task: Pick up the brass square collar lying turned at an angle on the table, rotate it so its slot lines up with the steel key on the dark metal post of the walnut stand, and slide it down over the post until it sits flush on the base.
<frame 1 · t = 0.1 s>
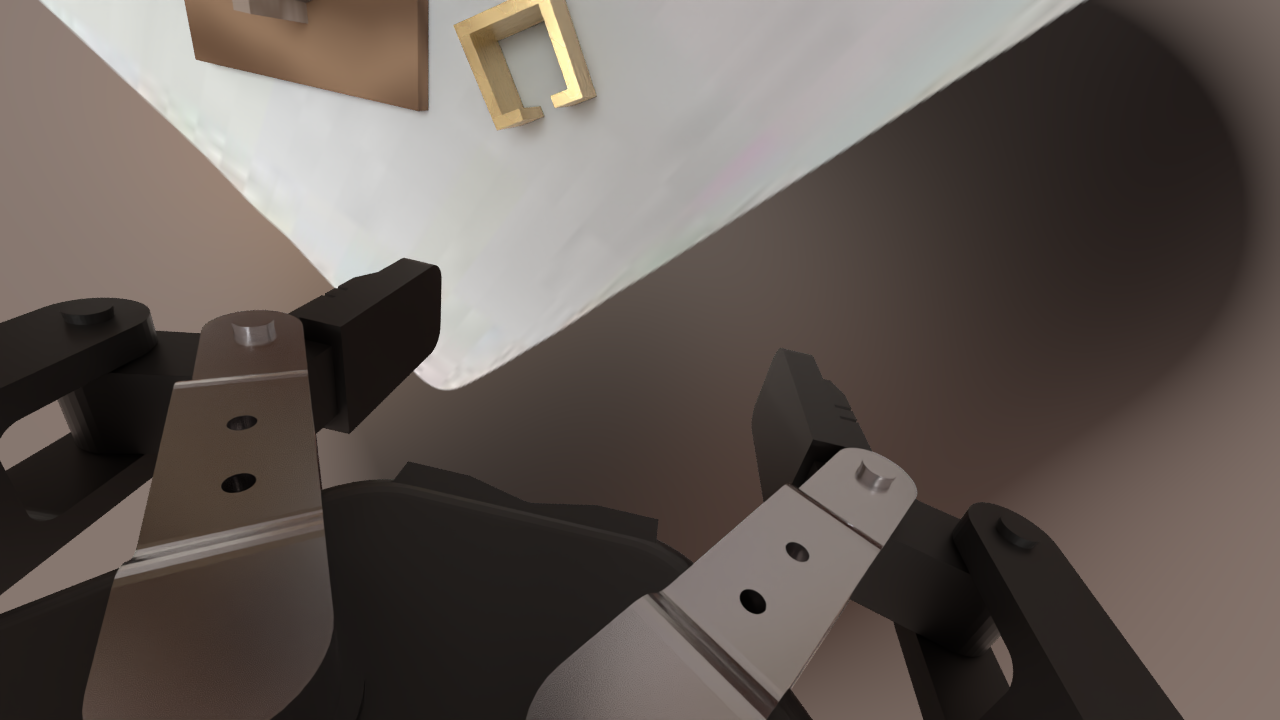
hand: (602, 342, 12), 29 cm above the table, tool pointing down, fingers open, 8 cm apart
collar: (541, 65, 35), on the table
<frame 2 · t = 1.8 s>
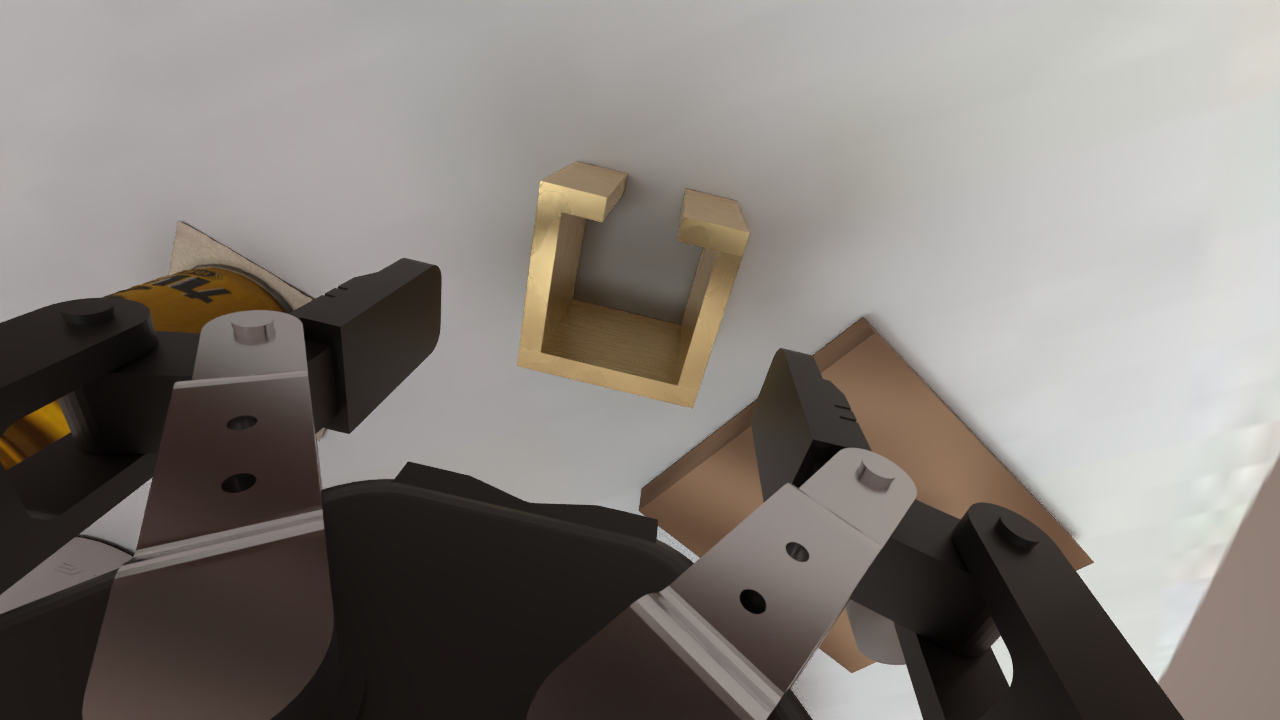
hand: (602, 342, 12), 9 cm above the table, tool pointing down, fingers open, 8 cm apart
collar: (638, 259, 20), on the table
condiment: (263, 337, 24), on the table
keyed stand: (852, 512, 25), on the table
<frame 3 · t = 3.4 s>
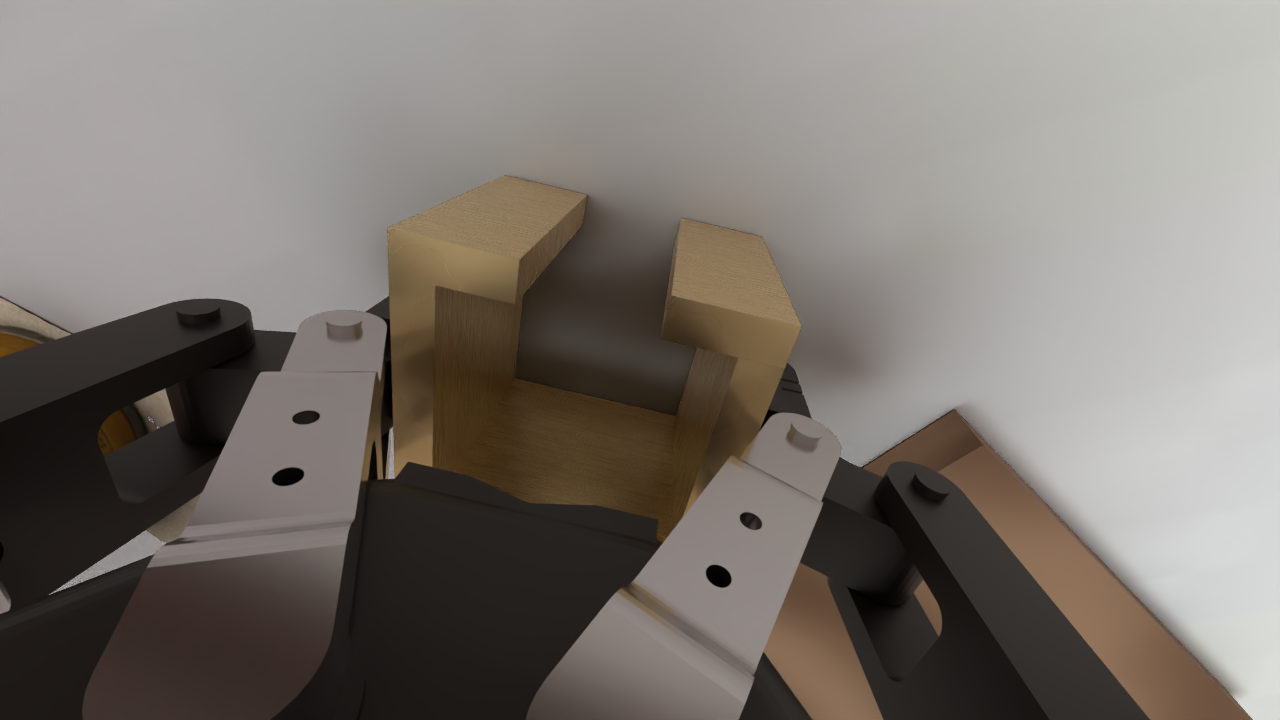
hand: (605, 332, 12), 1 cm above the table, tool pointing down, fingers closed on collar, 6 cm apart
collar: (610, 323, 13), on the table, touching gripper
condiment: (93, 420, 17), on the table
keyed stand: (917, 655, 18), on the table
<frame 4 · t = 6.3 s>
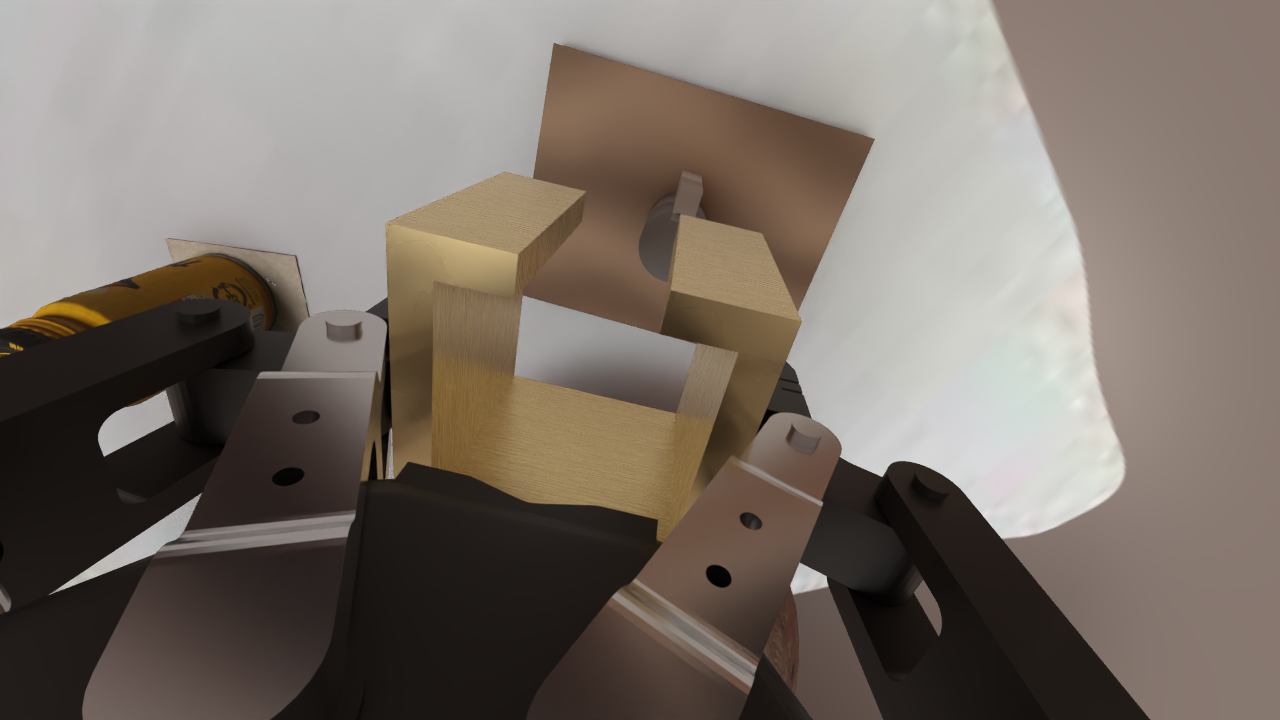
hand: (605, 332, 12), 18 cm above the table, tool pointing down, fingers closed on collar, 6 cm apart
collar: (610, 320, 13), point 17 cm above the table, touching gripper
condiment: (249, 299, 34), on the table
jug: (624, 491, 39), on the table
keyed stand: (677, 218, 29), on the table
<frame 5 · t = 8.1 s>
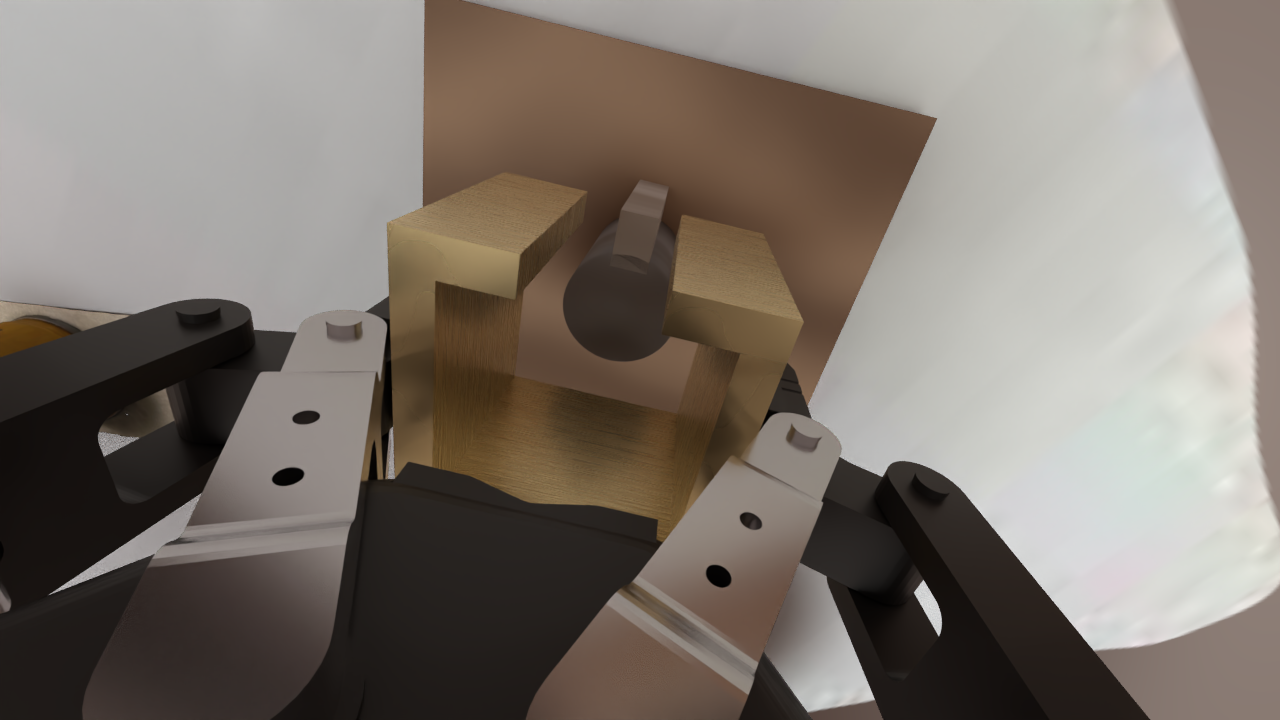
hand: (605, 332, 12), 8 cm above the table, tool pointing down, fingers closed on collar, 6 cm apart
collar: (611, 320, 13), point 8 cm above the table, touching gripper
condiment: (91, 370, 26), on the table
keyed stand: (641, 247, 20), on the table
when the fingers open (4 cm above the table, at t = 9.5 s): collar drops 2 cm, resting on keyed stand.
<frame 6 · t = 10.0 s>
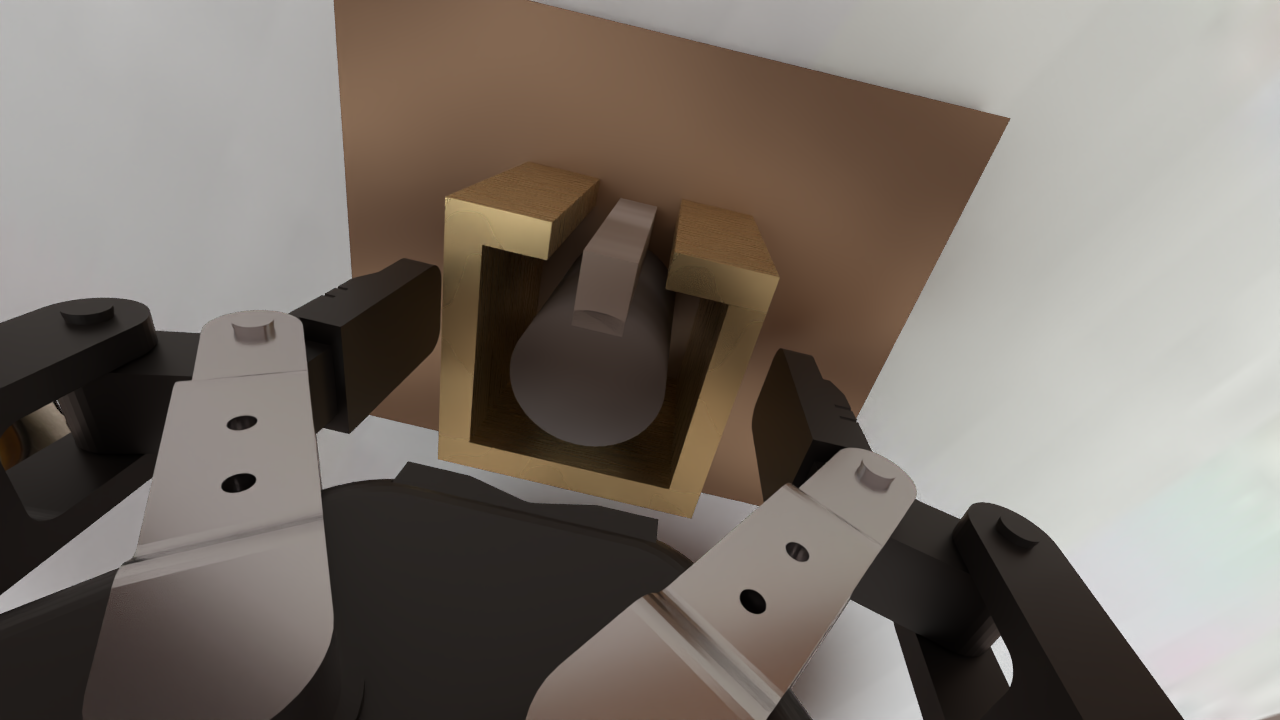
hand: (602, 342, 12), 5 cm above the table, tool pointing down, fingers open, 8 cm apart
collar: (619, 293, 15), point 1 cm above the table, touching keyed stand
keyed stand: (626, 278, 16), on the table
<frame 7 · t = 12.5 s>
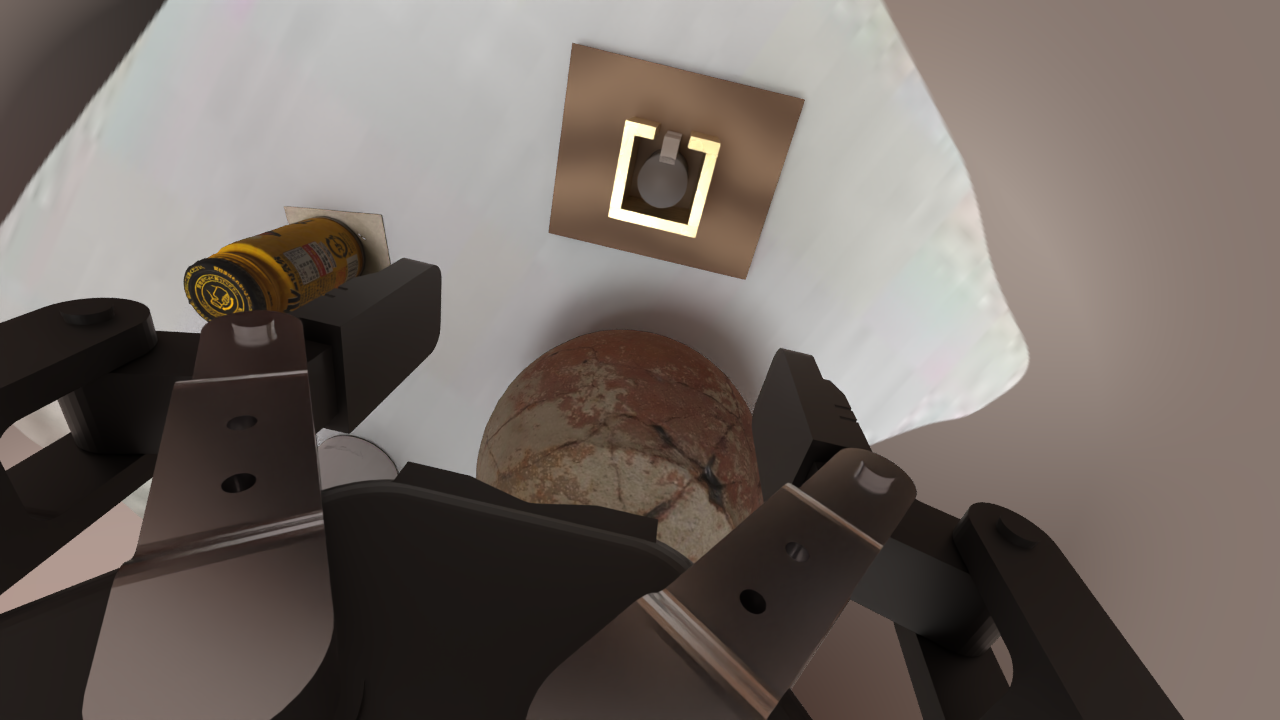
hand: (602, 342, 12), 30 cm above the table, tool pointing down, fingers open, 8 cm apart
collar: (666, 170, 37), point 1 cm above the table, touching keyed stand
condiment: (344, 252, 45), on the table
jug: (636, 397, 49), on the table
keyed stand: (667, 168, 38), on the table
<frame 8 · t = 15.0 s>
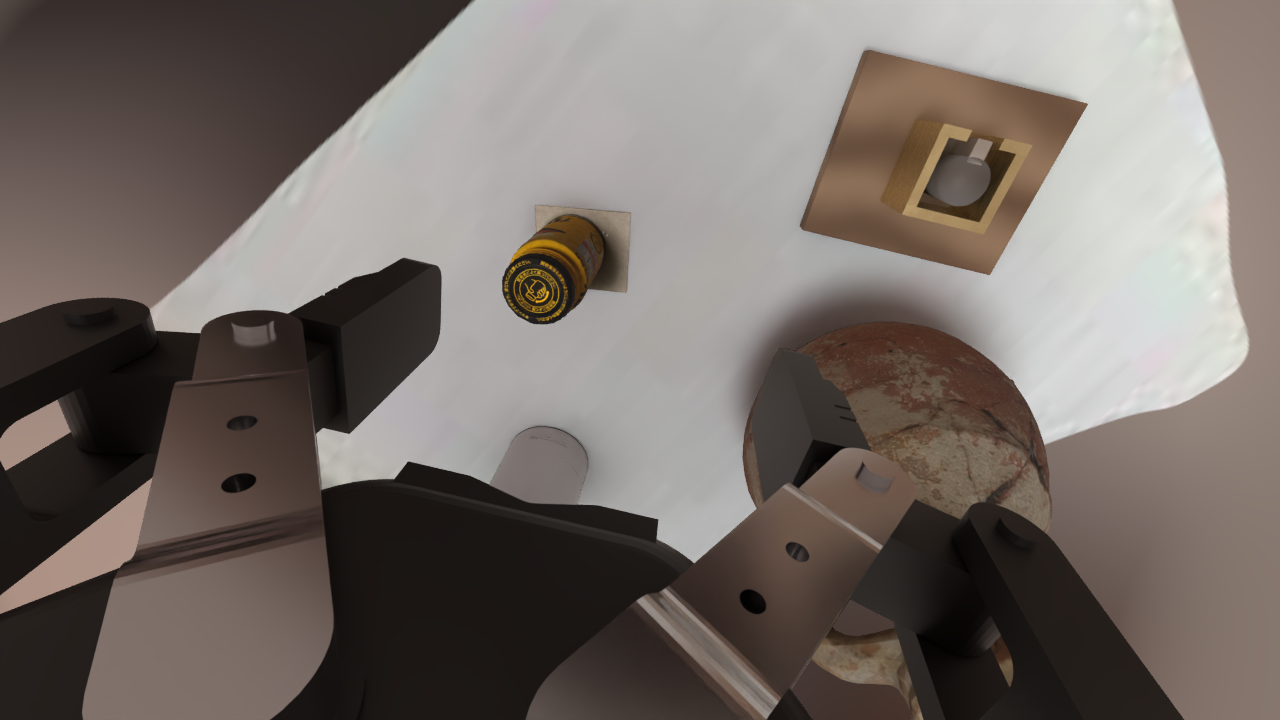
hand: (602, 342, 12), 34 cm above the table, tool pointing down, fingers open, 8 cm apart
collar: (934, 171, 39), point 1 cm above the table, touching keyed stand
condiment: (582, 248, 46), on the table
jug: (845, 389, 50), on the table
keyed stand: (926, 169, 40), on the table
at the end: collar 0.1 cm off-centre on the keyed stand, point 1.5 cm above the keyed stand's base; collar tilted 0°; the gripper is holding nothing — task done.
